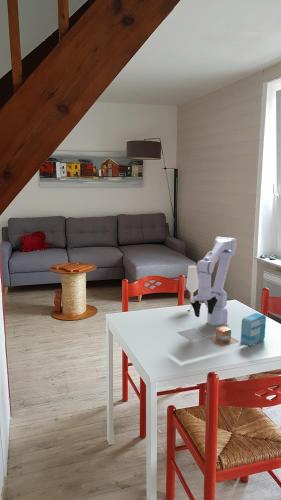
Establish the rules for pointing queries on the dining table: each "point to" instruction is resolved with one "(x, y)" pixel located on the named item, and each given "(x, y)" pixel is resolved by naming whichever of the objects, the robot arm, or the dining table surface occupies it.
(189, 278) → the champagne flute
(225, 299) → the robot arm
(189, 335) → the slate stand
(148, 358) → the dining table surface
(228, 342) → the walnut stand
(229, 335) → the orange-brown cube
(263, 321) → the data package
